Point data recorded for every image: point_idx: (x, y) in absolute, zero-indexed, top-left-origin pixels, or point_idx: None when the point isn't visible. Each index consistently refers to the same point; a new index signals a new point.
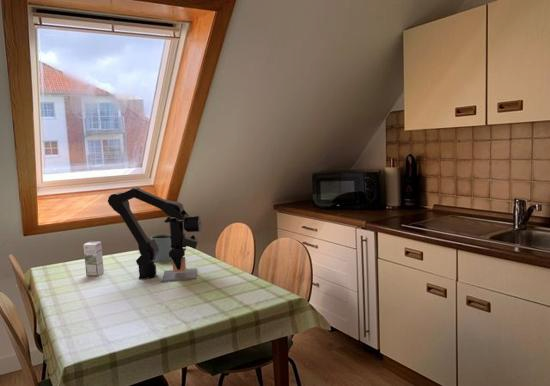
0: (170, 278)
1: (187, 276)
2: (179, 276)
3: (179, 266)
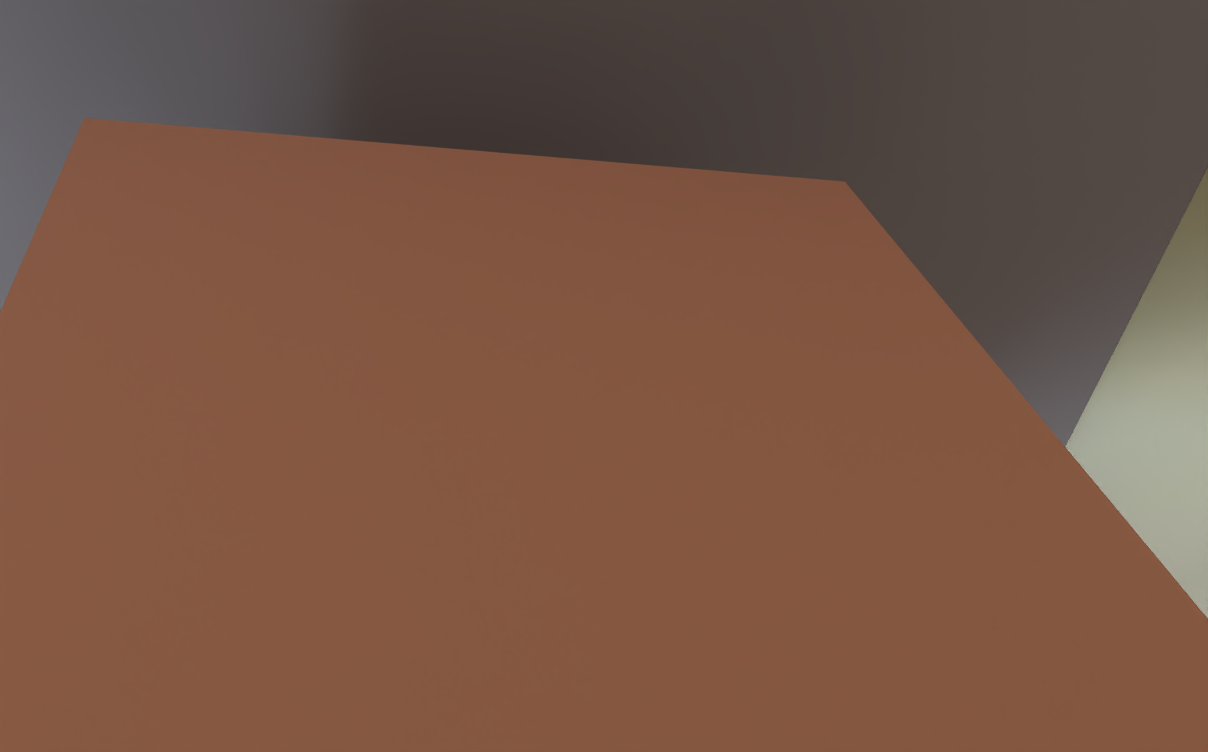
0: None
1: (1043, 10)
2: None
3: None
